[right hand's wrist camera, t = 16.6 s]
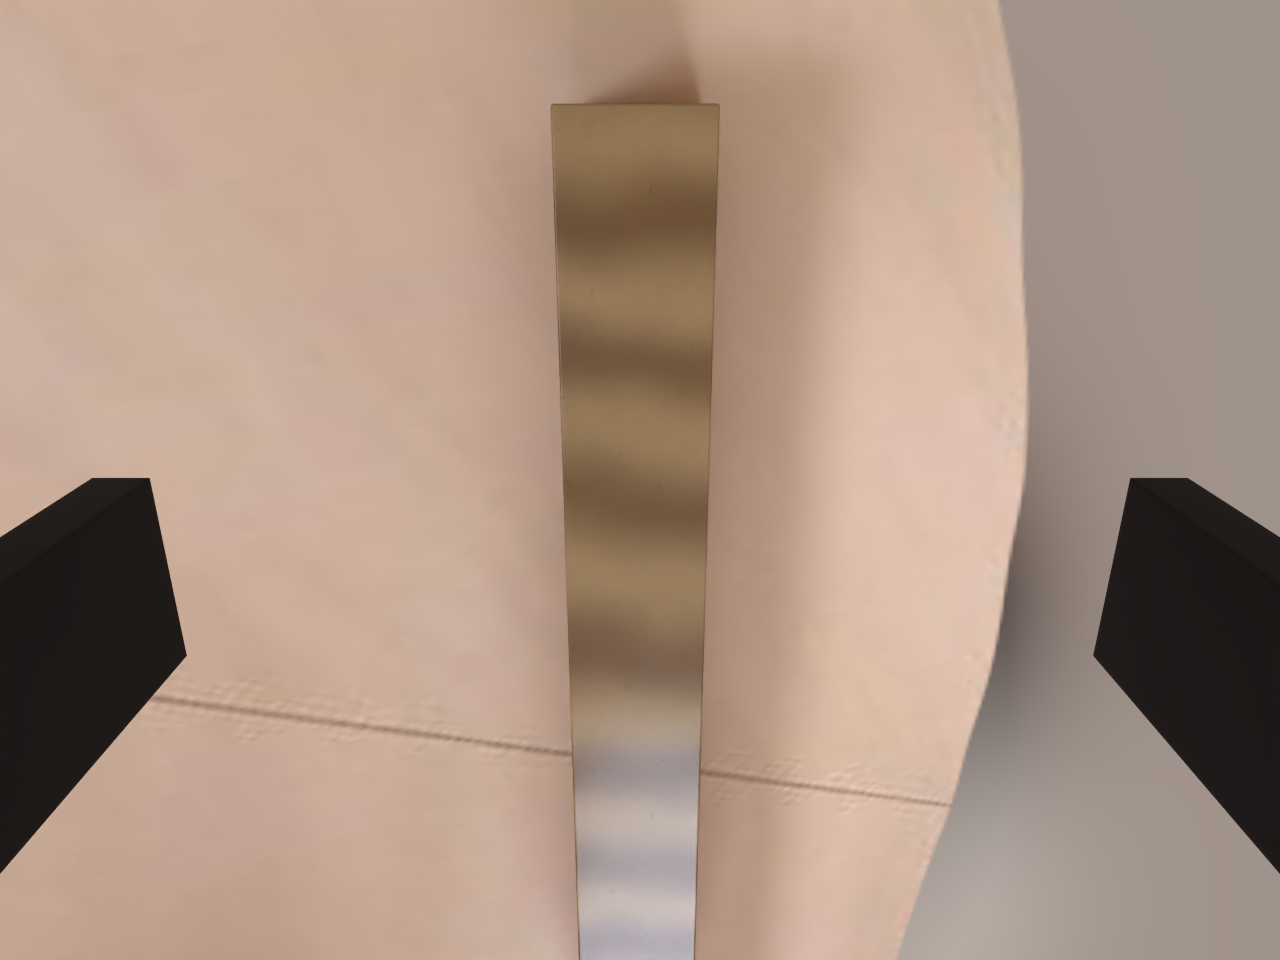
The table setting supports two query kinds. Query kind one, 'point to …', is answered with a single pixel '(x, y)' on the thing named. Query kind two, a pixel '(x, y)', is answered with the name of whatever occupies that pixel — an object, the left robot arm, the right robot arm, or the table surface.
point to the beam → (635, 505)
